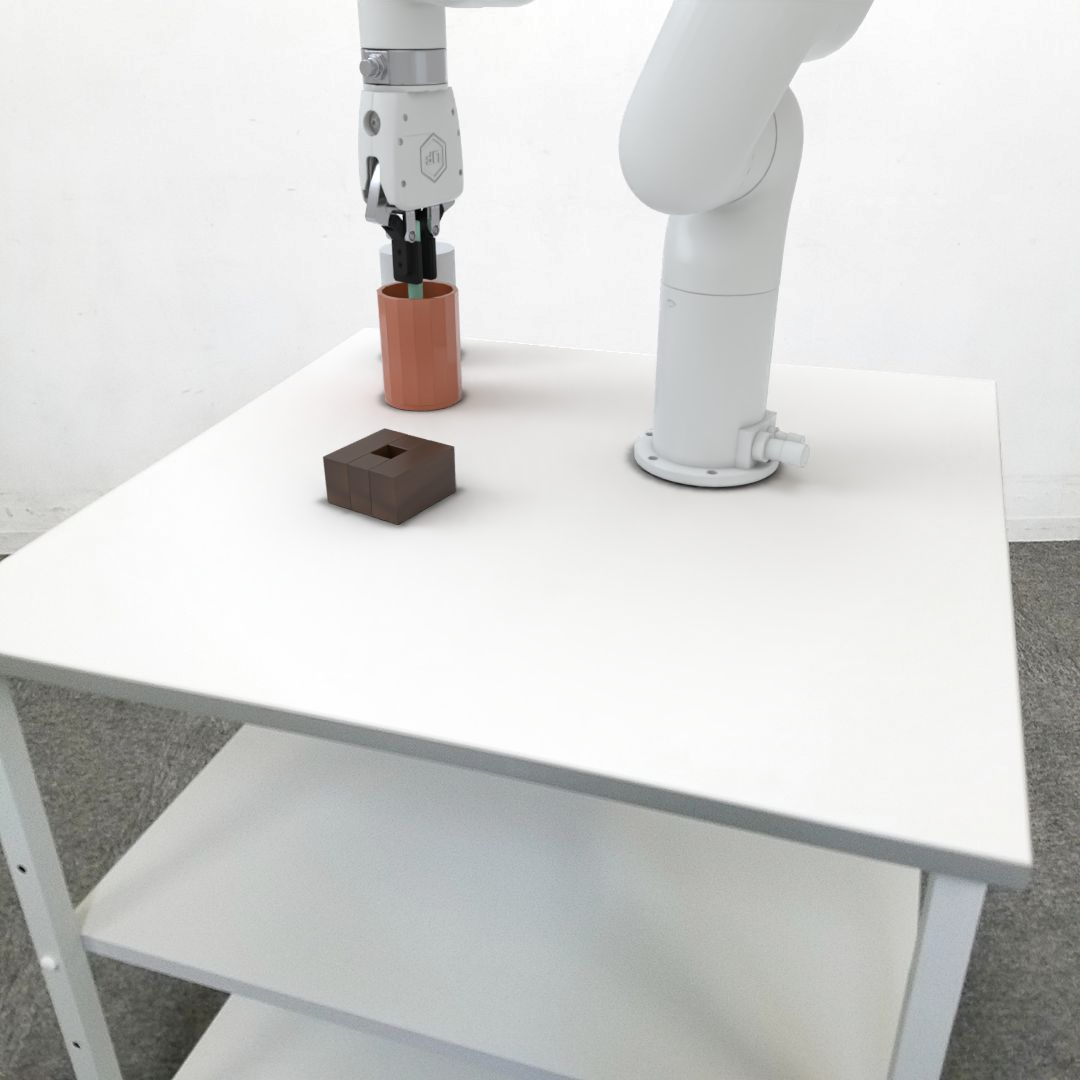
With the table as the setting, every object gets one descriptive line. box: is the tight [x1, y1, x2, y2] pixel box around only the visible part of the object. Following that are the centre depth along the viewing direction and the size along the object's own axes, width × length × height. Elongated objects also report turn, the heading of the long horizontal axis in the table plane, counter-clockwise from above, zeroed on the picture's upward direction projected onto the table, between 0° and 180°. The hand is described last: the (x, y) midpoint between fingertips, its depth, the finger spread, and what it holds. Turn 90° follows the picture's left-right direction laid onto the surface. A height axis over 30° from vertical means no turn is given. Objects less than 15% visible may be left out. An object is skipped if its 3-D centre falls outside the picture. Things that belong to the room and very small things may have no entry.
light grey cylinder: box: [378, 241, 457, 287], centre depth 115 cm, size 8×8×12 cm
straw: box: [408, 220, 423, 299], centre depth 101 cm, size 1×1×14 cm
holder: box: [322, 427, 457, 525], centre depth 83 cm, size 7×7×4 cm
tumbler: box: [376, 280, 463, 412], centre depth 103 cm, size 8×8×11 cm
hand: (415, 278), depth 100 cm, fingers closed on straw, 1 cm apart
